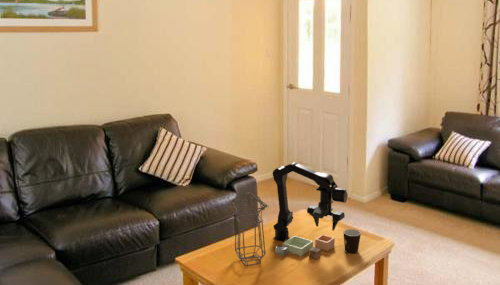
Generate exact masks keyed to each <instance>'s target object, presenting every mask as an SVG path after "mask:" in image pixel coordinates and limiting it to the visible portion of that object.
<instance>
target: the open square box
mask: <svg viewBox="0 0 500 285" xmlns="http://www.w3.org/2000/svg"><path fill="white" fill-rule="evenodd" d="M335 241H336V240H335V237H333V236H329V235H326V234H321V235H319V236H318V237H316V238H315V240H314V242H315V243H314V247H315V248H318V249H320V251H323V252H326V253H328V252H329V251H331V250H333V248H335Z"/></svg>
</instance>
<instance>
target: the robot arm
mask: <svg viewBox="0 0 500 285" xmlns="http://www.w3.org/2000/svg"><path fill="white" fill-rule="evenodd" d="M290 173H295V174H298V175H300V176H302V177H305V178H307V179H310V180H311V181H313V182H314V183H315V184H316V185H318V187H317V188H316V189H315V191H319V192H320V193H319V194H320V196H319V202H318V205H314V204H312V205H310V206H309V207H307V209H306V214H309V216H311V217H312V218H313V222H314V223H315V225H316V227H319V222H320V219H324V217H328V216H331V218H332V219H331V221H332V226H331V227H332V229H331V230H332V231H333V232H334V231H335V229H336V227H337V225H338V223H339V222H340V221H342V220H343V219H345V215H346V214H345V212H343V211H340V210H337V211H336V210H335V212H333V210H334V209H333V208H332V204H333V202H337V203H344V204H346V203H347V200H348V192H347V189H346V188H339V187H338V185H337V183H336V182H335V180H334V177H333V175H332V174H330V173H326V172H319V171H316V170H314V169H311V168H309V167H306V166H304V165H302V164H299V163H298V162H297V161H294V162H291V163H289V164H286V165H280V166H278V167H276V168H275V169H274V170H273V171H272V178H273V182H275V184H276V187H277V188H276V189H277V198H278V200H277V201H278V208H279V210H278V211H279V212H278V215H277V221H276V223H275V224H274V225H273V230H274V237H273V238H272V239H274V240H276V241H278V242H285V241H287V240H288V239H290V238H291V237H290V235H289V233H290V232H289V227H288V226H289V225H290V224H291V223H292V222H293V220H294V216H293V215H294V212H293V211H290V209H289V202H288V191H287V180H288V174H290Z"/></svg>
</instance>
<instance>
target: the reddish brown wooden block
mask: <svg viewBox="0 0 500 285" xmlns="http://www.w3.org/2000/svg"><path fill="white" fill-rule="evenodd" d="M274 250H275V251H274V254H275V255H277V256H281V257H286V256H287V255H288V254H289V252H288V247H285V246H283V245H281V244H279V245H277V246H276V247H275V248H274Z"/></svg>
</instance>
